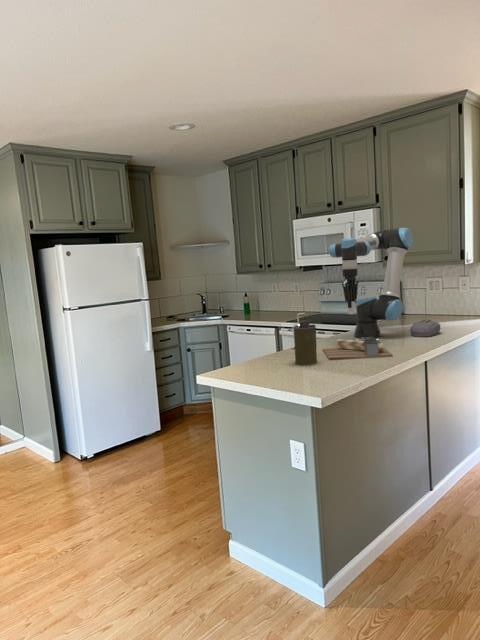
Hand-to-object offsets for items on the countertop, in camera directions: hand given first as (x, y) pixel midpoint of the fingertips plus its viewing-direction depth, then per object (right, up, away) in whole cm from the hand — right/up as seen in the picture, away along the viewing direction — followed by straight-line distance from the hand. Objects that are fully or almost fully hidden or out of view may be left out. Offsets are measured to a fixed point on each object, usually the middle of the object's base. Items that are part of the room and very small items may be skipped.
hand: (351, 313), depth 251 cm
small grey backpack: (+49, -12, +28) cm, 58 cm away
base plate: (0, -20, -11) cm, 23 cm away
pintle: (+9, -14, -16) cm, 23 cm away
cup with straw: (-25, -19, +13) cm, 34 cm away
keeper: (+5, -19, -17) cm, 26 cm away
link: (+2, -18, -9) cm, 20 cm away
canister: (-27, -24, -24) cm, 43 cm away
